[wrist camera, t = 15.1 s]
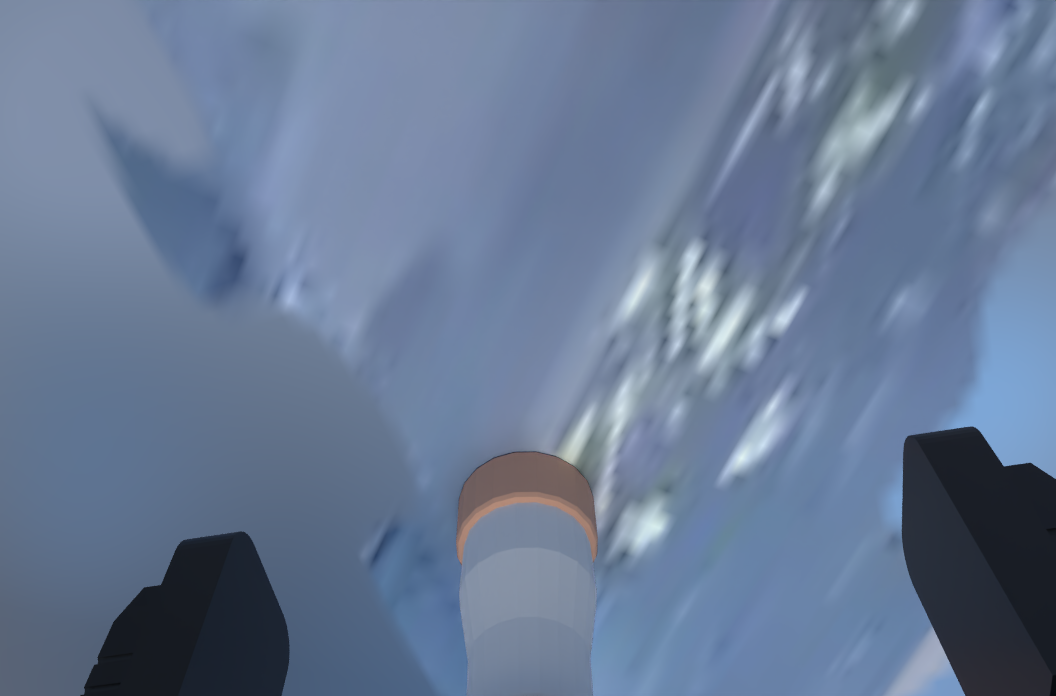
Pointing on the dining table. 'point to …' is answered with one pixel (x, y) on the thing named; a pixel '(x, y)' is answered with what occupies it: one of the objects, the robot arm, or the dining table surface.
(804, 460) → the dining table surface
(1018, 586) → the robot arm
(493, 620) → the salt shaker
